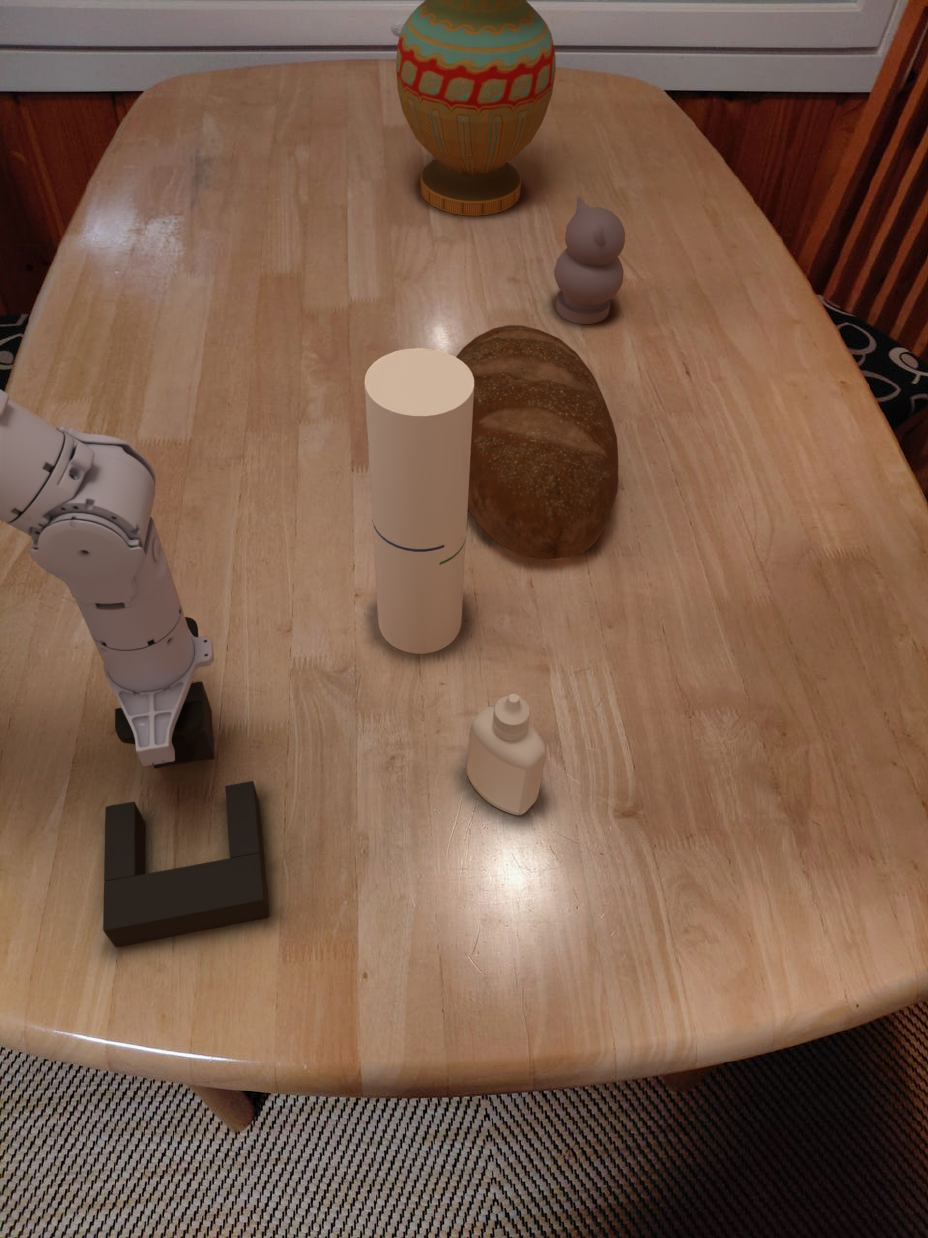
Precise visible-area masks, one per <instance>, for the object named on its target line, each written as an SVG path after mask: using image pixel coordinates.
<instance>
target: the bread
mask: <svg viewBox="0 0 928 1238" xmlns="http://www.w3.org/2000/svg"><path fill="white" fill-rule="evenodd" d="M455 357H456V358H458V359H459V360H461V361H462V362H463V363H464V364H466V365H467V366H468V368H469V369H470V371H471V372H472V375H473V377H474V398H473V416H472V435H471V453H470V472H469V491H468V510H469V512H470V514H471V515H472V516H473V517H472V518H474V520H475V521H476V522H477V523H478V524H479V526H480V528H481V529H483V531H485V532H486V533H487V534H488V535H489V537H491V538H492V539H493V540H495V541H496V542H497V543H498V544H500V545H501V546H502V547H505V548H506V549H508V550H510V551H511V552H512V553H515V554H517V555H518V556H520V557H522V558H525V559H533V560H545V561H547V560H560V559H561V560H562V559H569V558H573V557H576V556H580V555H582V554H584V553H585V552H586V551H587V550H588V549H590V547H592V546H593V545H594V544H595V542H596V541H597V540H598V538H599V536H600V535H601V533H602V532H603V530H604V528H605V527H606V525H607V523H608V521H609V519H610V516H611V514H612V511H613V510H614V509H613V508H614V506H615V503H616V499H617V495H618V490H619V489H618V488H619V450H618V436H617V432H616V429H615V426H614V423H613V420H612V417H611V414H610V411H609V408H608V405H607V402H606V400H605V397H604V395H603V394H602V391H601V388H600V386H599V384H598V381H597V380H596V378H595V375H594V374H593V373H592V371H591V370H590V369H589V367H588V366H587V365H586V363H585V362H584V360H583V359H582V358H581V356H580V355H579V354H578V353H577V352H576V351H575V350H574V349H572V348H571V347H570V346H569V345H568V344H567V343H566V342H564V341H563V340H562V339H560V337H557V336H555V335H553V334H549V333H548V332H545V331H543V330H542V329H539V328H533V327H530V326H526V325H524V324H523V325H522V324H521V325H518V324H517V325H516V324H508V325H503V326H498V327H493V328H491V329H490V330H487V331H485V332H483V333H481V334H479V335H477V336H475V337H474V338H473V339H472V340H471V341H469V342H468V343H467V344H466V345H465V346H463V347H462V349H461V350H460V351H459V352H458V353H457V355H456V356H455Z"/></svg>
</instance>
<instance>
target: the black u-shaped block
mask: <svg viewBox="0 0 928 1238" xmlns="http://www.w3.org/2000/svg"><path fill="white" fill-rule="evenodd" d="M224 791H225V792H224V793H225V805H226V806H225V807H226V821H227V834H228V835H227V836H228V849H229V858H224V859H219V860H213V861H209V862H208V861H207V862H203V863H198V864H192V865H186V866H181V867H176V868H170V869H165V870H160V871H154V872H148V873H146V855H145V852H146V851H145V848H146V847H145V846H146V845H145V843H146V842H145V841H146V840H145V820H144V818H143V815H142V813H141V812H140V809H139V807H138V805H137V803H136V801H129V802H123V803H118V804H112V805H111V804H110V805H106V806H105V813H104V857H103V858H104V859H103V860H104V861H103V862H104V863H103V865H104V866H103V881H104V882H103V911H102V912H103V913H102V914H103V919H102V931H103V933H104V934H105V936H107V938H108V940H109V941H110V942H111V944H112V945H113V946H114V948H115V947H116V948H118V947H122V946H126V945H132V944H136V943H137V944H138V943H142V942H146V941H152V940H158V939H162V938H168V937H172V936H177V935H183V934H187V933H193V932H198V931H203V930H209V929H212V928H213V929H214V928H219V927H224V926H227V925H228V926H229V925H234V924H239V923H244V922H248V921H253V920H259V919H264V918H268V917H270V915H271V914H270V904H269V893H268V883H267V873H266V864H265V863H266V862H265V851H264V840H263V831H262V830H263V829H262V819H261V810H260V809H261V808H260V799H259V796H258V793H257V792H258V791H257V790H256V786H255V782H254V780H251V781H244V782H238V783H233V784H227V785H224Z"/></svg>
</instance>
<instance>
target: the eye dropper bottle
mask: <svg viewBox="0 0 928 1238" xmlns="http://www.w3.org/2000/svg"><path fill="white" fill-rule="evenodd" d="M530 716H531V708H530V705H529V704H528V702H527V701H526V700H525V699H524V698H522V697H521V696H519V695H518V694H517V693H511V694H510V695H509V694H508V695H505V696H502V697H500V698H499V699H498V700H497V701H496V702H495V704H494V706H493V705H490V706H486V707H484V708H483V709H482V710H480V712H478V713H477V714H476V715H475V717H473V719H472V720H471V723H470V728H469V737H468V747H467V749H468V750H467V762H466V775H467V778H468V780H469V781H470V784H471V785H472V787H473V788H474V789H475V791H476V792H477V793H478V794H479V795H480V796H481V797H482V798H483V799H484V801H486V802H488V803H489V804H491V805H492V806H493V807H495V808H497V809H499V810H501V811H503V812H506V813H507V814H511V815H515V816H523V815H524V814H525V813H526V812H527V811H529V809H530V808H531V807H532V806H533V805H534V804H535V803H536V802H537V800H538V797H539V794H540V793H539V792H540V787H541V783H542V779H543V773H544V768H545V763H546V757H547V748H546V745H545V743H544V741H543V739H542V737H541V735H540V734H539V733H538V731H537V730H536V728H534V726H533V725H532V724H531V723H530Z"/></svg>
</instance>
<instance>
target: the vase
mask: <svg viewBox="0 0 928 1238" xmlns="http://www.w3.org/2000/svg"><path fill="white" fill-rule="evenodd" d="M396 48H397V49H396V58H395V61H396V62H395V68H396V69H395V71H396V72H395V73H396V86H397V87H396V89H397V93H398V98H399V102H400V106H401V110H402V112H403V115H404V117H405V119H406V122H407V123H408V126H409V128H410V130H411V132H412V134H413V135H414V137H415V139H416V140H417V141H418V143H419V144H420V145H421V146H422V147H423V148H424V149H425V150H426V151H427V152H428V153H429V154H430V155H431V156H433V157H434V158H435V159H433V160H431V161H430V162H429V163H427V164H426V165H425V166H424V167H423V168H422V170H421V172H420V193H421V195H422V197H423V199H424V201H426V202H427V203H428V204H429V205H431V206H432V207H435V208H436V209H438V210H441V211H444V212H446V213H450V214H455V215H461V216H475V217H477V216H487V215H493V214H497V213H501V212H504V211H506V210H508V209H510V208H512V207H513V206H514V205H515V204H516V203H517V202H518V201H519V199H520V196H521V191H522V176H521V174H520V172H519V171H518V169H517V168H515V167H514V166H513V165H511V164H510V163H509V161H511V160H512V159H514V158H515V157H516V156H517V155H518V154H520V153H521V152H522V151H523V150H524V149H525V148H526V147H527V146H528V145H529V144H530V143H532V141H533V139H534V138H535V136H536V134H537V132H538V131H539V129H540V127H541V126H542V124H543V121H544V120H545V117H546V114H547V111H548V108H549V104H550V102H551V98H552V96H553V93H554V91H553V90H554V84H555V78H556V71H557V70H556V67H557V66H556V61H557V60H556V57H557V56H556V52H555V51H556V50H555V45H554V39H553V35H552V32H551V30H550V28H549V25H548V23H547V22H546V21H545V19H544V18H543V17H542V16H541V14H539V12H538V11H537V10H536V9H535V8H534V7H533V6H532V5H531V4H530V3H529V2H528V1H527V0H424V1H423V2H422V3H420V4H419V5H418V6H417V7H416V8H415V9H414V10H413V11H412V13H410V15H409V16H408V18H407V19H406V20H405V22H404V24H403V25H402V27H401V30H400V34H399V37H398V41H397V47H396ZM520 188H521V189H520ZM517 194H518V195H517Z"/></svg>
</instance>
